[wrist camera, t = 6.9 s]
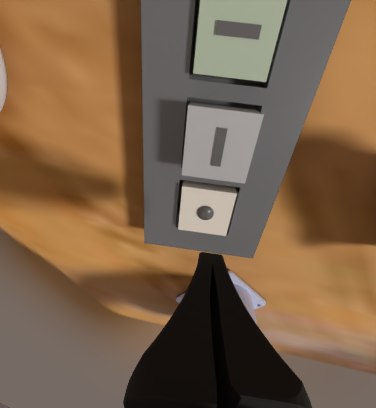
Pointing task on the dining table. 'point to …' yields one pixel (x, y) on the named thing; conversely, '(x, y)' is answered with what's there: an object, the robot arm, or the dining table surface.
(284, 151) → the keypad
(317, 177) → the dining table surface
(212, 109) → the grey key
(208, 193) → the cream key
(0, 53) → the flower in vase
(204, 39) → the sage key
